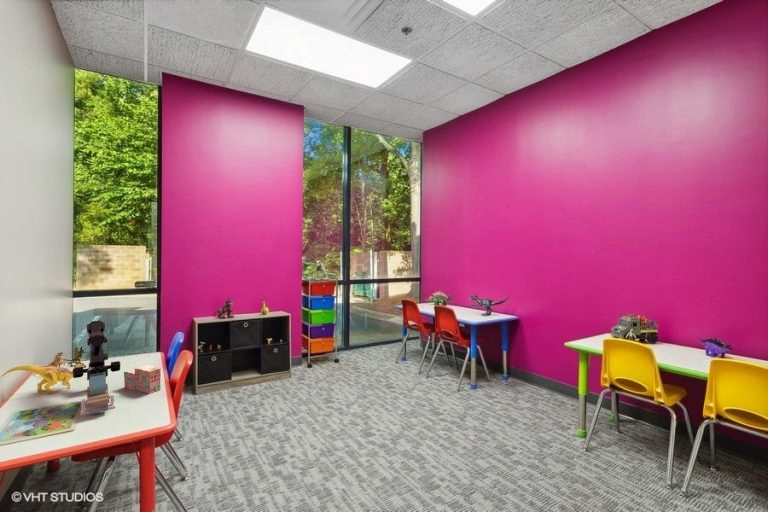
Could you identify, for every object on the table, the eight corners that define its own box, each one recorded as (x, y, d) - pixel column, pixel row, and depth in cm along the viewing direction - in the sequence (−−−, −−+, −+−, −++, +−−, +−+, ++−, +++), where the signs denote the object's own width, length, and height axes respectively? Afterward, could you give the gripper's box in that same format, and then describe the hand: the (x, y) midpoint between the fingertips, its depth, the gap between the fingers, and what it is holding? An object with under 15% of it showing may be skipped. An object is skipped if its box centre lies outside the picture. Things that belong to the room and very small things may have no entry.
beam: (86, 397, 186) (86, 387, 185) (108, 393, 191) (108, 383, 191) (85, 414, 166) (85, 403, 166) (110, 409, 172) (110, 398, 172)
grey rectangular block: (89, 392, 178) (89, 374, 178) (105, 389, 182) (105, 371, 182) (89, 396, 174) (89, 377, 174) (105, 393, 178) (105, 374, 178)
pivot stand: (80, 411, 174) (80, 399, 173) (114, 404, 182) (114, 392, 182) (80, 415, 170) (80, 402, 170) (115, 407, 178) (115, 395, 178)
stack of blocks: (123, 388, 203) (123, 365, 203) (135, 384, 209) (135, 362, 209) (149, 394, 195) (149, 371, 195) (160, 390, 200) (160, 367, 200)
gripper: (72, 351, 178) (72, 380, 170) (120, 345, 190) (121, 372, 181) (73, 363, 185) (72, 392, 176) (119, 356, 196) (120, 383, 188)
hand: (97, 384), depth 180 cm, fingers closed, pressing on grey rectangular block
